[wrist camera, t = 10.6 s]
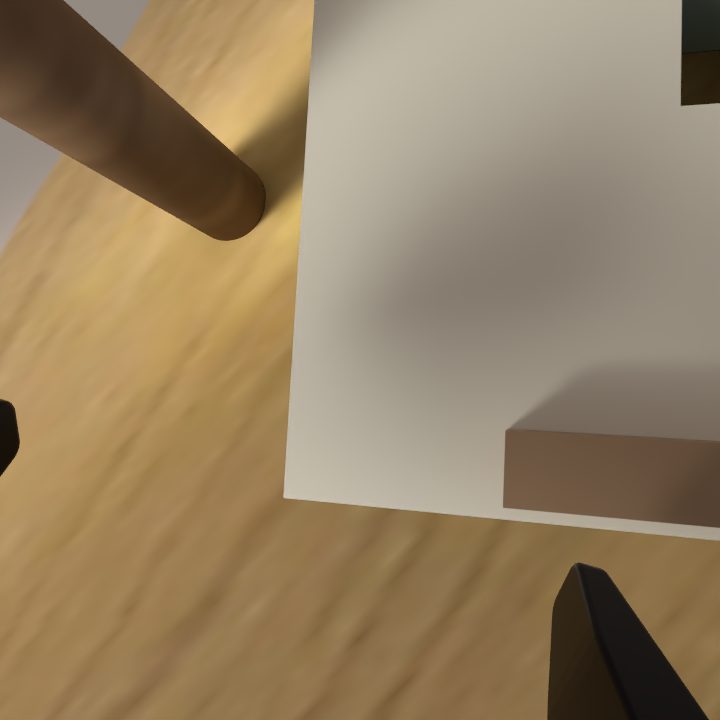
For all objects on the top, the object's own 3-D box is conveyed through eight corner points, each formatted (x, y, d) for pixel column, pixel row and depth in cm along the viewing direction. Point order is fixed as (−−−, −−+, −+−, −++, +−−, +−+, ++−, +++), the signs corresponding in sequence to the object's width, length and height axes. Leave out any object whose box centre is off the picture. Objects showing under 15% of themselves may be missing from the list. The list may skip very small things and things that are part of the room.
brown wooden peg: (262, 240, 19) (-198, -69, 7) (191, 241, 20) (-341, -36, 8) (268, 162, 19) (-170, -270, 7) (197, 166, 20) (-313, -221, 8)
